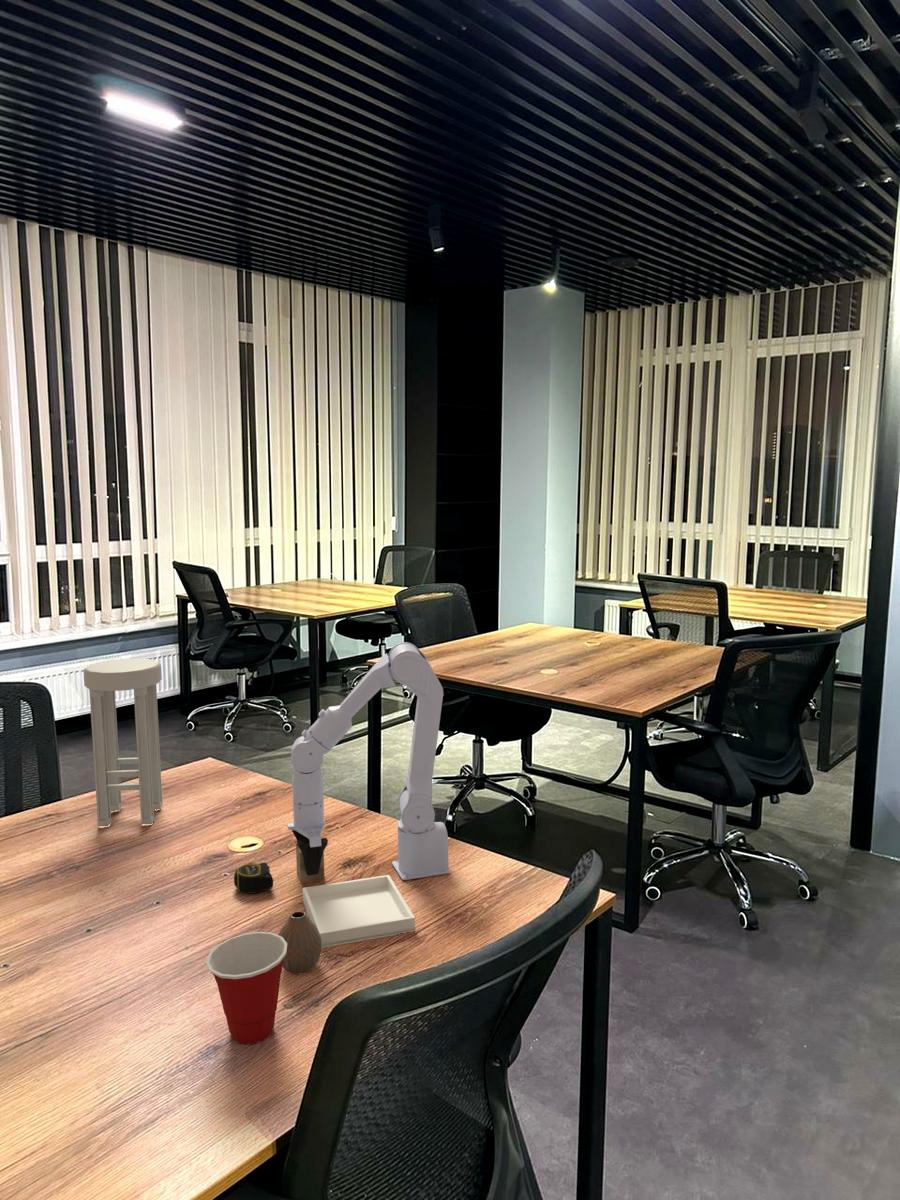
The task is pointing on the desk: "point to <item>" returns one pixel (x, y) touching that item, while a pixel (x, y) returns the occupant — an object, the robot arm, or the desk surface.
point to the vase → (300, 943)
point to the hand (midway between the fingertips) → (310, 868)
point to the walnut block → (302, 871)
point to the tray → (357, 910)
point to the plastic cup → (249, 983)
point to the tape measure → (253, 878)
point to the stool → (105, 739)
